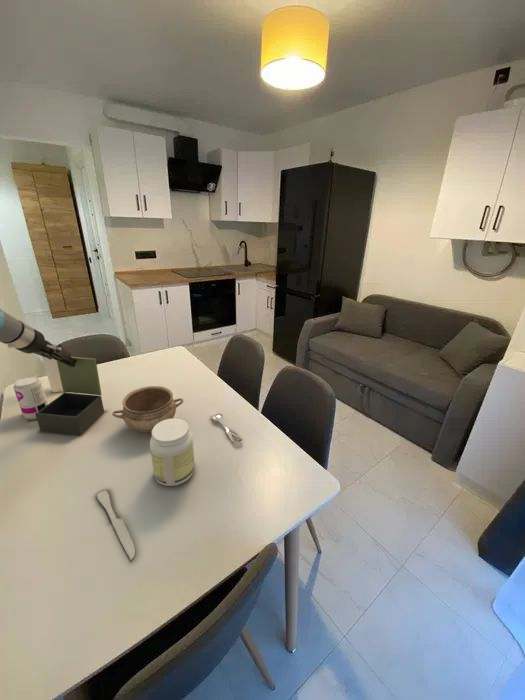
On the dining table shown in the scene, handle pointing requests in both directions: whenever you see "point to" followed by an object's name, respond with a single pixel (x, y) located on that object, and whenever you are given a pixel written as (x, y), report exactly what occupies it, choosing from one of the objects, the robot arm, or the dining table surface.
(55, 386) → the milk
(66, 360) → the robot arm
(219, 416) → the silver spoon
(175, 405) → the cooking pot
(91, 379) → the bin lid
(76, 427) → the bin
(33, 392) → the supplement can
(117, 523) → the butter knife
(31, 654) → the dining table surface
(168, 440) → the supplement tub
